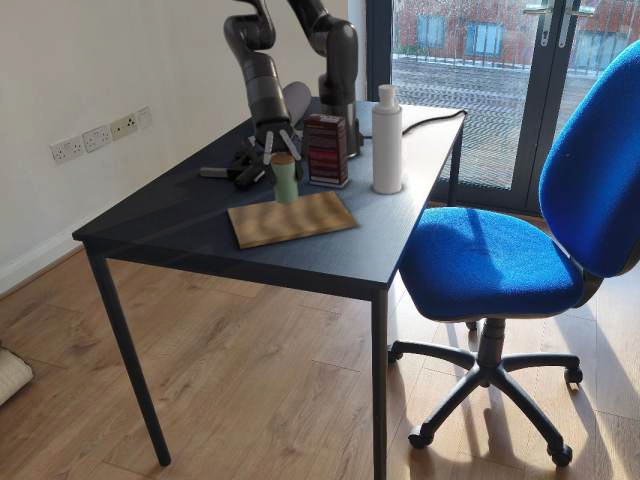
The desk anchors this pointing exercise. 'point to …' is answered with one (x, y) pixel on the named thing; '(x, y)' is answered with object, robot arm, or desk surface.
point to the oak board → (289, 219)
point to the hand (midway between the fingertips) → (286, 182)
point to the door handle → (238, 170)
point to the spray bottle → (387, 142)
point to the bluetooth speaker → (297, 100)
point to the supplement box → (327, 150)
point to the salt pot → (284, 178)
